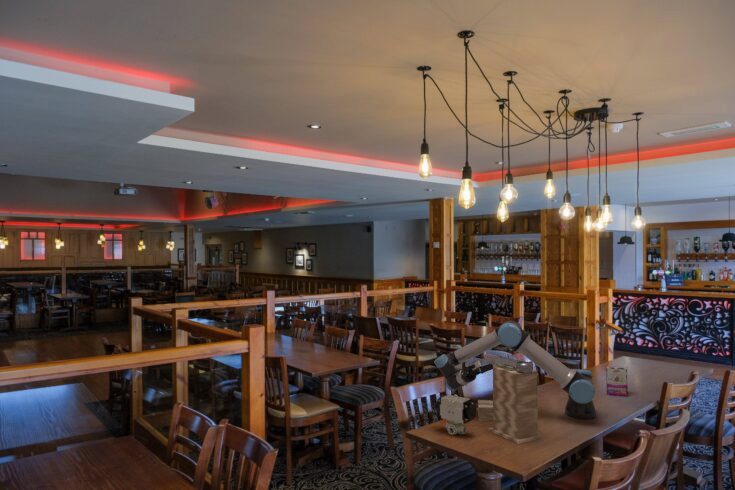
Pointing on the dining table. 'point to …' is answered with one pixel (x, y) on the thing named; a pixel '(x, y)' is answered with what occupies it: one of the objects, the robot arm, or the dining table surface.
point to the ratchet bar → (509, 363)
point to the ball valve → (456, 412)
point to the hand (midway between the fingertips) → (490, 361)
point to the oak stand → (515, 404)
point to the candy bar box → (616, 381)
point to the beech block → (485, 410)
